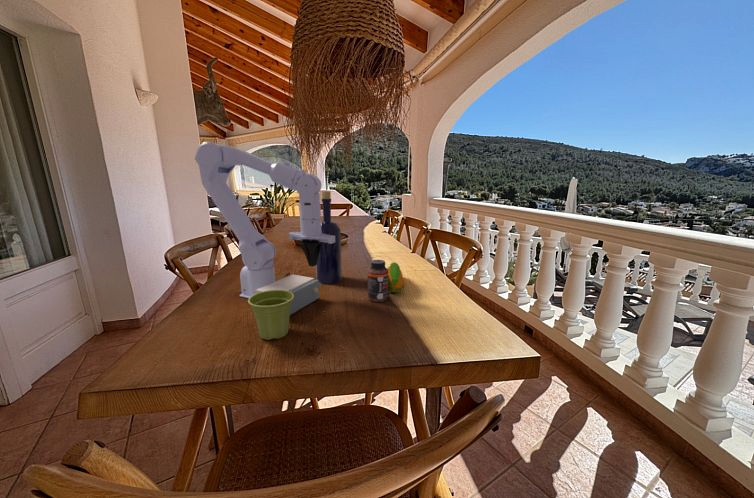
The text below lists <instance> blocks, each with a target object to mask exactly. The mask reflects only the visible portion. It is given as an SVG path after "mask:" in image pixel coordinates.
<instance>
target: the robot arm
mask: <svg viewBox="0 0 754 498" xmlns="http://www.w3.org/2000/svg"><path fill="white" fill-rule="evenodd" d="M194 160H195V162H196V164H197V165H198V168H199V174H200V180H201V184H202V186H203V188H204V189H205V190H206V192H207V194H208V196H209V197H210V198H211V200H212V202H213V203H214V204H215V206H216V207H217V209H218V211H219V212H220V213H221V216H222V217H223V218H224V220H225V221H226V223H227V224H228V226H229V227H230V229H231V230H232V232H233V234H234V235H235V236H236V238H237V239H238V247H237V248H238V251H239V253H240V255H241V260H242V262H243V264H244V266H243V267H242V268H241V270H240V273H239V279H240V287H241V288H240V290H241V293H240V294H239V297H241V298H245V299H249V298H250V297H251V296H252V295H254V294H256V290H257V289H259V288H261V287H264V286H266V285H268V284H271V283H273V282H275V281H276V277H275V276H276V275H275V272H276V271H275V263H274V258H275V257H276V256H277V255H276V254H277V250H276V249H277V248H276V247H275V245H274V244H273V243H272V242H270V241H268V240H267V238H266V237H265V235H263V234H262V233H260V232H259V231H257V230H256V228H255V226H254V225H253V223H252V221H251V219H250V218H249V217H248V215H247V214H246V212H245V210H244V208H243V207H242V206H241V204H240V202H239V201H238V200H237V198H236V196H235V195H234V193H233V191H232V190H231V189H230V187H229V185H228V184H227V183H228V182H227V181H228V178H229V176H230V174H231V173H232V171H233V170H234V168H235V167H236V166H238V167H240V166H245V167H248V168H250V169H252V170H254V171H258V172H260V173H263V174H265V175H268V176H269V177H270V180H271V181H272V182H273V183H274V184H275V183H276V184H277V185H280V186H283V187H285V188H287V189H289V190H292V191H294V192H295V191H296V192H297V193H298V198H299V200H298V201H299V202H298V204H299V205H298V206H299V207H298V208H299V220H300V222H299V225H300V231H290V232H288V239H289V240H300V241H301V242H299V247H300V248H301V250H302V251H303V253H304V255H305V259H306V260H307V264H308V266H309V267H316V265H317V260H318V256H319V253H320V250H321V248H322V246H323V244H324V242H326V243H329V244H332V243H335V236H333V235H328V234H323V233H322V231H321V222H322V213H321V212H322V208H321V207H322V206H321V195H320V192H321V189H322V182H321V180H320V178H319V177H318V176H317V175H315V174H313V173H308V174H307V171H306V170H305V169H299V168H297V167H293V166H291V165H290V162H288V161H285V160H284V161H277V162H275V163H273V162H270V161H267V160H266V159H263V158H261V157H259V156H257V155H255V154H252V153H250V152H248V151H245V150H244V149H240V148H235V147H232V146H229V145H226V144H225V145H223V144H218V143H214V142H212V141H204V142H202V143H201V144H199V145H198V147H197V150H196V153H195V157H194Z"/></svg>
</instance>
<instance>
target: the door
mask: <svg viewBox="0 0 754 498" xmlns="http://www.w3.org/2000/svg"><path fill="white" fill-rule="evenodd" d="M316 279H317V278H316ZM316 279H315V278H314V280H313V281H311V282H309V283H307V284H305V285H303V286H301V287H299V288H297V289H295V290H293V291H291V292H292V293H293V294H294V298H293V300H292V304H291V307H290V316H291V315H293V314H295V313H296V312H298V311H300V310H301V309H303V308H305V307H306V306H308V305H310V304H312V303H313V302H314V301H315V302H316V301H317V300H318V299H320V283H319V280H316Z"/></svg>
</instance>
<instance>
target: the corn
mask: <svg viewBox="0 0 754 498" xmlns="http://www.w3.org/2000/svg"><path fill="white" fill-rule="evenodd" d="M386 268H387V269H388V294H390V293H395V294H397V293H399V292H401V291H402V290H403V289H404V287H405V285H404V284H405V281H404V277H403V272H402V270H401V269H400V265H399V264H398V263H396V262H394V261H393V262H391V263H390V265H389V266H388V267H386Z"/></svg>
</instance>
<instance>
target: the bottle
mask: <svg viewBox="0 0 754 498" xmlns="http://www.w3.org/2000/svg"><path fill="white" fill-rule="evenodd" d="M331 193H332V192H331V190H322V191H321V204H322V216H323V221H321V231H322V233H323V234H328V235H333V236H335V243H332V244H329V243H326V242H324V244H323V246H322V248H321V250H320V253H319V256H318V260H317V265H315V267H316V269H315V271H316V280H319V284H322V285H334V284H337V283H340V282H342V281H343V277H342V276H343V274H342V272H343V271H342V248H341V247H342V241H341V240H342V239H341V237H342V236H341V228H340V226H338V224H337V222H335V221H332V208H331V207H332V206H331V205H332V203H331V202H332V198H331V195H332V194H331Z"/></svg>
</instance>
